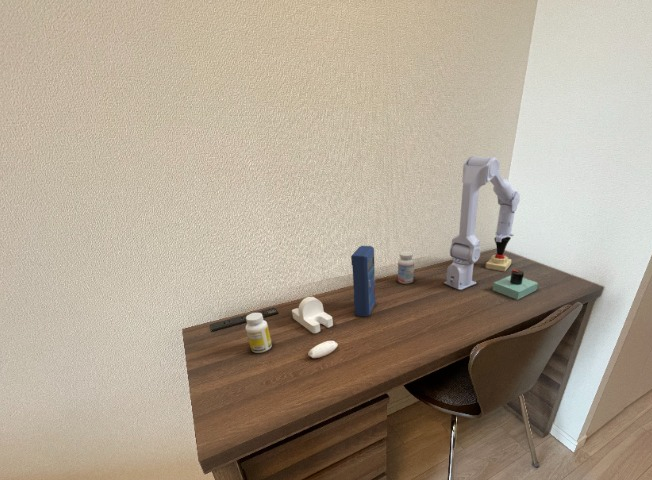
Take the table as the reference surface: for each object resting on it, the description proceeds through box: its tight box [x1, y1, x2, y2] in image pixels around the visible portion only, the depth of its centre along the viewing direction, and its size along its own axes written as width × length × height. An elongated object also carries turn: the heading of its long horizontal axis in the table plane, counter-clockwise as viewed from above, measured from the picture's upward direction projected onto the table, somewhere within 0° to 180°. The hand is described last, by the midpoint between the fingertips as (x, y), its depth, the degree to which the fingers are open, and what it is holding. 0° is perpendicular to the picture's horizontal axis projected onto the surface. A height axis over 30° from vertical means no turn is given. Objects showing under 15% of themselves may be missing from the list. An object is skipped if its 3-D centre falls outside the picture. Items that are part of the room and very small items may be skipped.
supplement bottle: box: [245, 312, 273, 354], centre depth 84 cm, size 5×5×10 cm
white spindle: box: [307, 340, 339, 359], centre depth 83 cm, size 3×8×3 cm, turn 131°
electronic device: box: [350, 245, 376, 317], centre depth 100 cm, size 10×5×20 cm, turn 168°
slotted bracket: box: [291, 296, 334, 334], centre depth 96 cm, size 13×7×8 cm, turn 42°
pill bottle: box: [397, 251, 415, 285], centre depth 121 cm, size 6×6×11 cm
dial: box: [510, 269, 525, 285], centre depth 113 cm, size 4×4×4 cm
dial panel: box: [492, 275, 539, 301], centre depth 115 cm, size 12×10×3 cm
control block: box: [485, 254, 512, 272], centre depth 136 cm, size 10×8×4 cm
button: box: [494, 252, 506, 259], centre depth 135 cm, size 4×4×2 cm
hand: (500, 254), depth 134 cm, fingers closed, pressing on button
